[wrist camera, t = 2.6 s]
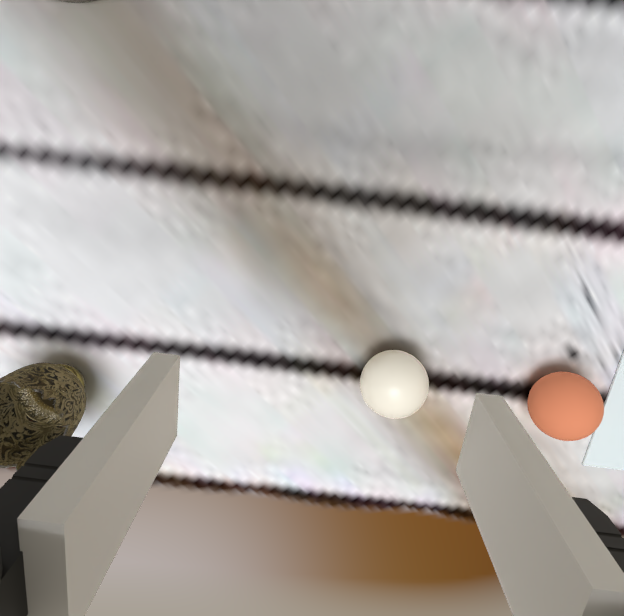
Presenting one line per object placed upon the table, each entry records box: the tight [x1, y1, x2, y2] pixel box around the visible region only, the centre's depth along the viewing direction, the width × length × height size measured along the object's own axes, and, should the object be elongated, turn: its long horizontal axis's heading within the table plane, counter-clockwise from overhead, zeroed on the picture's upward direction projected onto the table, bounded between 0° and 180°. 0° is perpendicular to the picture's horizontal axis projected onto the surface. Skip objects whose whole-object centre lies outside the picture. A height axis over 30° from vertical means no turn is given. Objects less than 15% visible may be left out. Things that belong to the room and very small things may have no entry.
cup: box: [0, 363, 86, 471], centre depth 39 cm, size 7×7×8 cm
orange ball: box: [528, 372, 604, 441], centre depth 39 cm, size 6×6×6 cm
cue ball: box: [360, 350, 429, 419], centre depth 39 cm, size 6×6×6 cm
